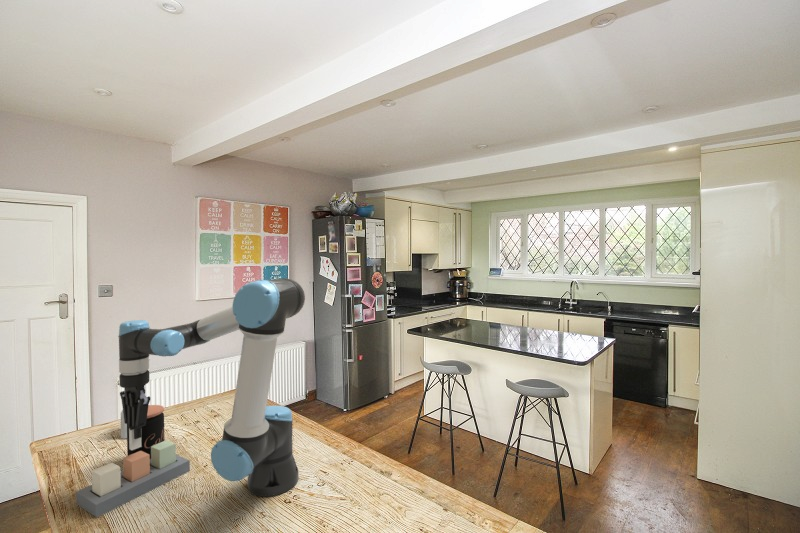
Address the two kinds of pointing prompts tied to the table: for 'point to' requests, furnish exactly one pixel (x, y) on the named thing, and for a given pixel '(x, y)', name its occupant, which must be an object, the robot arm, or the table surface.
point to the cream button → (106, 479)
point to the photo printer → (123, 427)
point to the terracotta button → (136, 466)
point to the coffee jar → (150, 430)
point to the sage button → (163, 454)
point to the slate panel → (130, 488)
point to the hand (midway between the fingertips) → (135, 447)
